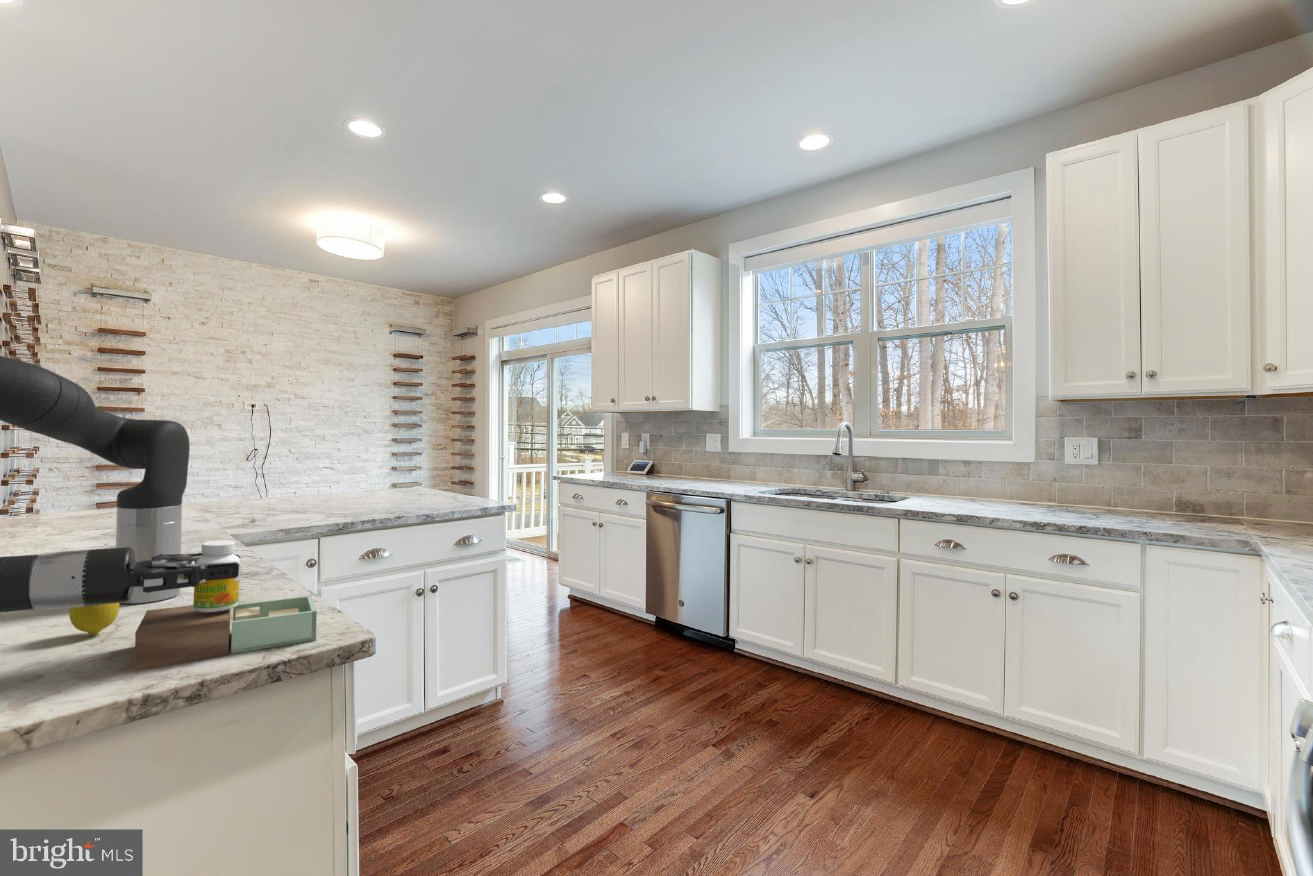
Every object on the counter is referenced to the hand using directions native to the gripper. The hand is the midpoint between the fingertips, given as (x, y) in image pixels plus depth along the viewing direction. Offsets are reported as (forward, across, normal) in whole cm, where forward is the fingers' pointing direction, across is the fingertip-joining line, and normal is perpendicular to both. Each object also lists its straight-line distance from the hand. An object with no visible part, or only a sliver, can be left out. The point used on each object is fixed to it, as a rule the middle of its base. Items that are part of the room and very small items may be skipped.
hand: (238, 565), depth 88 cm
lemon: (-18, +14, +12) cm, 26 cm away
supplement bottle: (-3, 0, +6) cm, 7 cm away
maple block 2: (+6, 0, +8) cm, 10 cm away
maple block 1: (0, 0, +9) cm, 9 cm away
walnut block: (-6, 0, +12) cm, 13 cm away
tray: (+5, 0, +12) cm, 13 cm away
